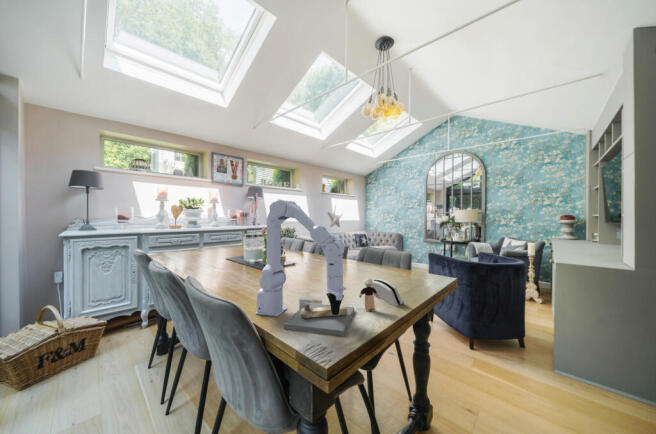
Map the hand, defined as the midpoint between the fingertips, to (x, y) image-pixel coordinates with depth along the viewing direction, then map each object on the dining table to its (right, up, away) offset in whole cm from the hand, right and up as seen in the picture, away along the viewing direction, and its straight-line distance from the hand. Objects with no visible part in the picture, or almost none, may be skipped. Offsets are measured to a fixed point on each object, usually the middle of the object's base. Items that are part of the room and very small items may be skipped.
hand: (335, 314), depth 80 cm
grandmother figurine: (+13, -3, +10) cm, 17 cm away
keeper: (-9, -1, +7) cm, 11 cm away
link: (-4, -1, +2) cm, 5 cm away
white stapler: (+23, -3, +21) cm, 31 cm away
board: (-5, -3, +3) cm, 6 cm away
